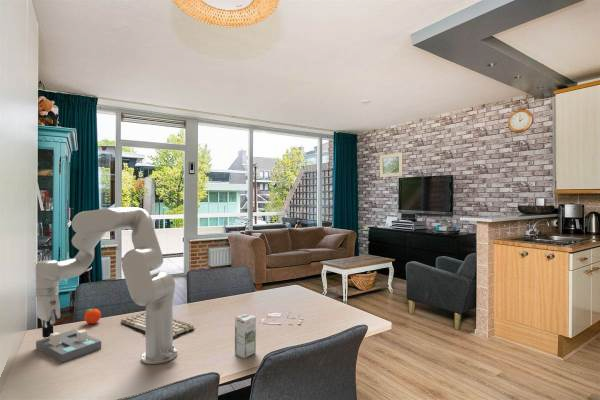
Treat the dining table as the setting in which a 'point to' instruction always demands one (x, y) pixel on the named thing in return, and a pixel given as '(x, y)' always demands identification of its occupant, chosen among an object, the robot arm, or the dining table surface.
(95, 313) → the clementine
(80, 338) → the tab
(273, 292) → the dining table surface
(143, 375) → the dining table surface
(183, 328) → the mechanical keyboard
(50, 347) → the switch panel
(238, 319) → the syrup box
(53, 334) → the tab
